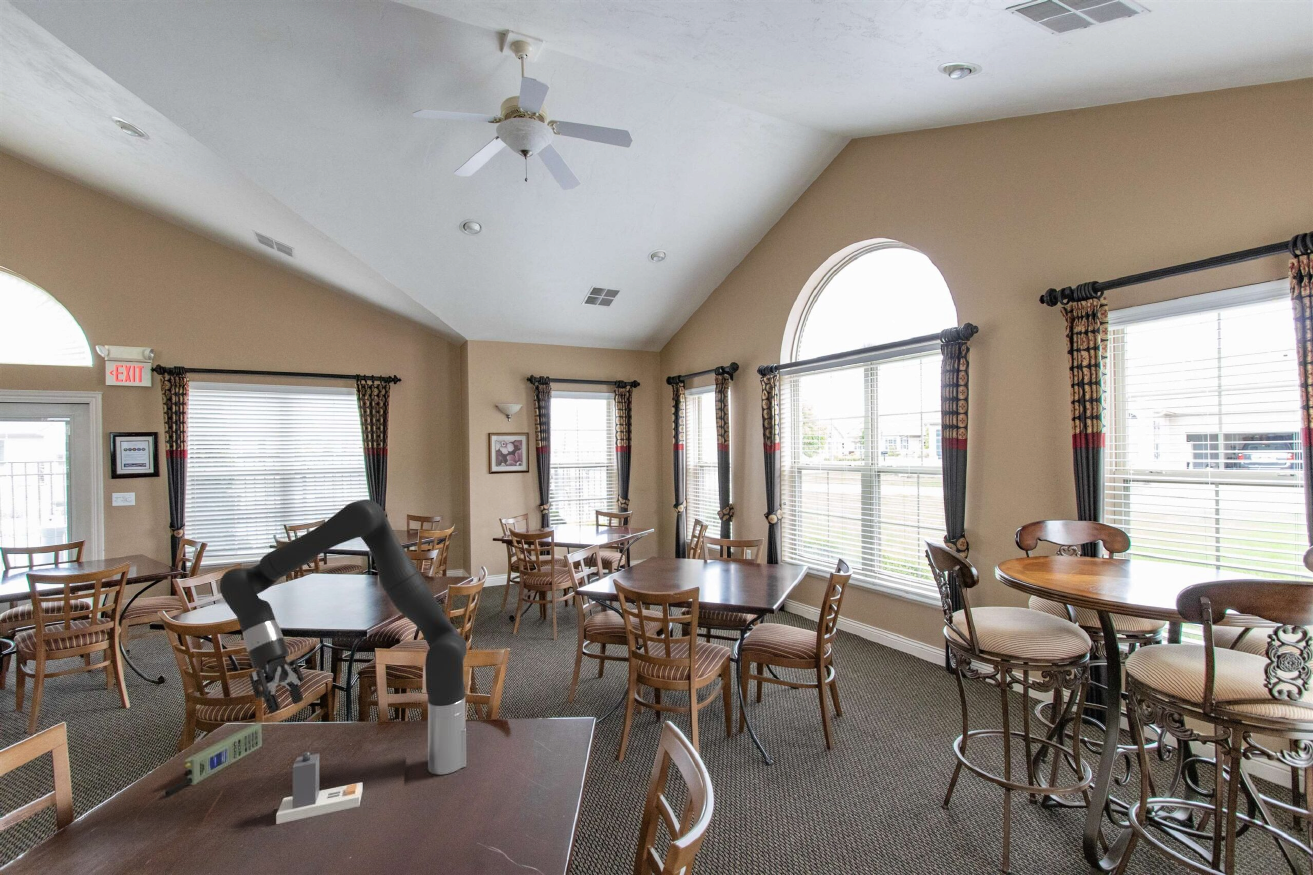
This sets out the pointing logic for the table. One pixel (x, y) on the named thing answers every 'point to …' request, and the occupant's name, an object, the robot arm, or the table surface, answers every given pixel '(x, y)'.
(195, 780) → the handheld radio
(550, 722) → the table surface
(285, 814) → the power strip
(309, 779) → the charger
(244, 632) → the robot arm
